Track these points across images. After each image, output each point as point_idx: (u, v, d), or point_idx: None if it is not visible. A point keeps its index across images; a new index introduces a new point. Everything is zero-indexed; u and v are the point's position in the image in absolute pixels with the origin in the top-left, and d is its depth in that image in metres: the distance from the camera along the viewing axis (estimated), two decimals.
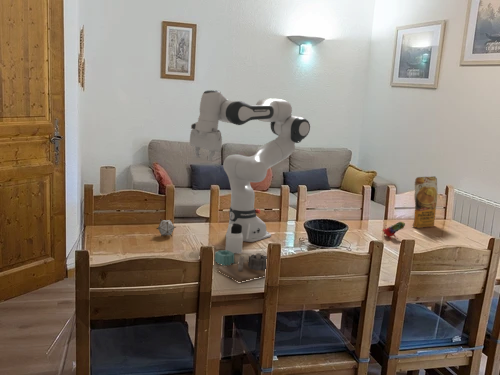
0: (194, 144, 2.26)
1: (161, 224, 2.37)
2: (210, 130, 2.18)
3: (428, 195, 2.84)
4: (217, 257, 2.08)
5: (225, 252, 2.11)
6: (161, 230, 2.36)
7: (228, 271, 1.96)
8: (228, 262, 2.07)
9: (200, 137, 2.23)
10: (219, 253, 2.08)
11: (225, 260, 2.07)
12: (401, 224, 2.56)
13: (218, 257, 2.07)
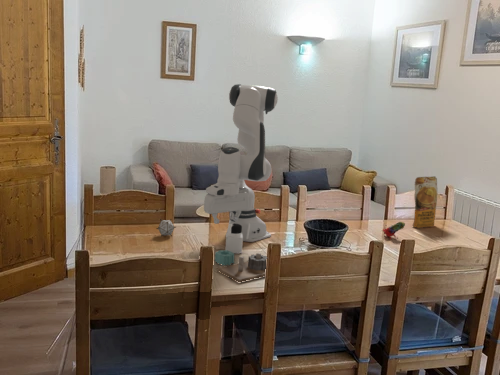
0: (217, 211, 2.01)
1: (161, 224, 2.37)
2: None
3: (428, 195, 2.84)
4: (217, 257, 2.08)
5: (225, 252, 2.11)
6: (161, 230, 2.36)
7: (228, 271, 1.96)
8: (228, 262, 2.07)
9: (225, 201, 2.02)
10: (219, 253, 2.08)
11: (225, 260, 2.07)
12: (401, 224, 2.56)
13: (218, 257, 2.07)
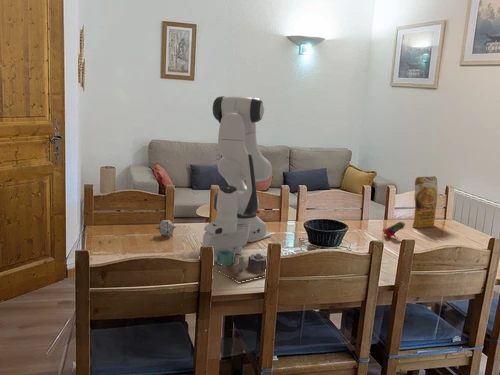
0: (216, 249, 2.04)
1: (161, 224, 2.37)
2: None
3: (428, 195, 2.84)
4: None
5: (225, 252, 2.11)
6: (161, 230, 2.36)
7: (228, 271, 1.96)
8: (228, 262, 2.07)
9: (223, 238, 2.06)
10: (219, 253, 2.08)
11: (225, 260, 2.07)
12: (401, 224, 2.56)
13: None
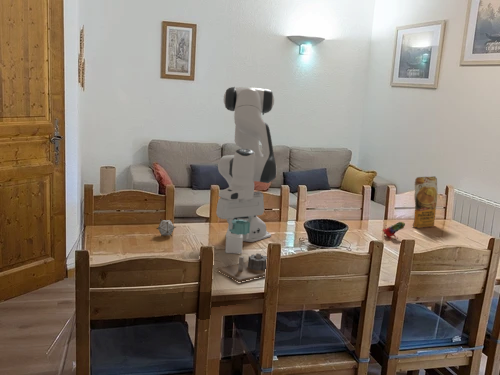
0: (231, 216, 1.90)
1: (161, 224, 2.37)
2: None
3: (428, 195, 2.84)
4: None
5: (240, 221, 1.97)
6: (161, 230, 2.36)
7: (228, 271, 1.96)
8: (244, 231, 1.93)
9: (239, 205, 1.91)
10: (234, 222, 1.94)
11: (240, 229, 1.92)
12: (401, 224, 2.56)
13: None
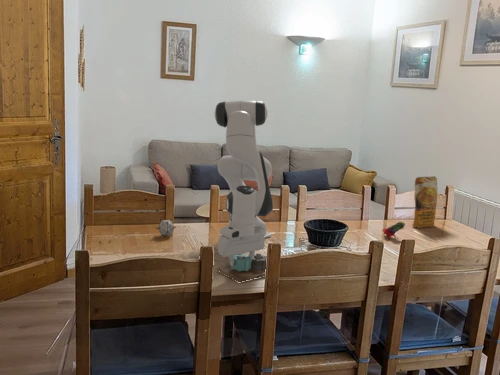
0: (232, 253, 1.91)
1: (161, 224, 2.37)
2: None
3: (428, 195, 2.84)
4: None
5: None
6: (161, 230, 2.36)
7: (228, 271, 1.96)
8: (245, 267, 1.94)
9: (240, 242, 1.93)
10: (235, 258, 1.96)
11: (242, 265, 1.94)
12: (401, 224, 2.56)
13: None
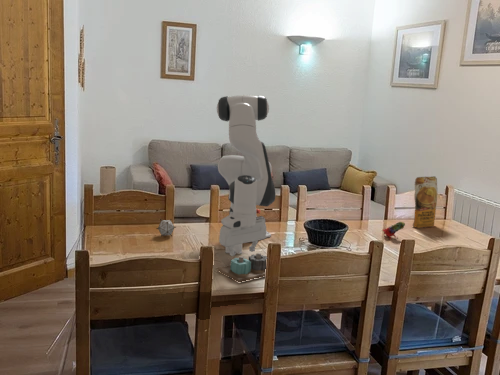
0: (233, 243, 1.91)
1: (161, 224, 2.37)
2: None
3: (428, 195, 2.84)
4: (233, 265, 1.96)
5: None
6: (161, 230, 2.36)
7: (228, 271, 1.96)
8: (245, 271, 1.95)
9: (241, 232, 1.92)
10: (235, 261, 1.96)
11: (241, 269, 1.94)
12: (401, 224, 2.56)
13: (234, 265, 1.95)
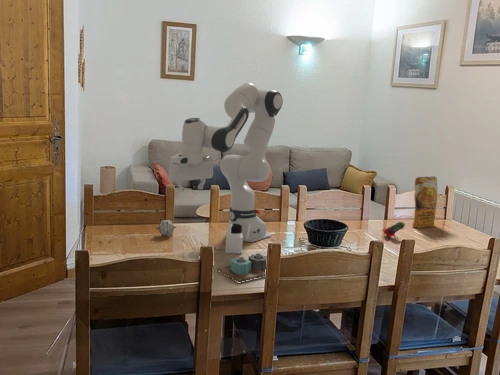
0: (182, 179, 2.09)
1: (161, 224, 2.37)
2: None
3: (428, 195, 2.84)
4: (233, 265, 1.96)
5: None
6: (161, 230, 2.36)
7: (228, 271, 1.96)
8: (245, 271, 1.95)
9: (189, 169, 2.10)
10: (235, 261, 1.96)
11: (241, 269, 1.94)
12: (401, 224, 2.56)
13: (234, 265, 1.95)
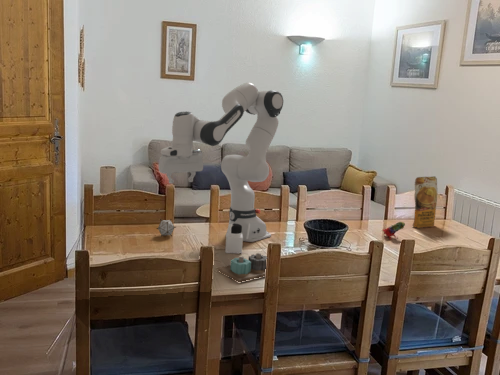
0: (171, 171, 2.13)
1: (161, 224, 2.37)
2: None
3: (428, 195, 2.84)
4: (233, 265, 1.96)
5: None
6: (161, 230, 2.36)
7: (228, 271, 1.96)
8: (245, 271, 1.95)
9: (179, 162, 2.15)
10: (235, 261, 1.96)
11: (241, 269, 1.94)
12: (401, 224, 2.56)
13: (234, 265, 1.95)
